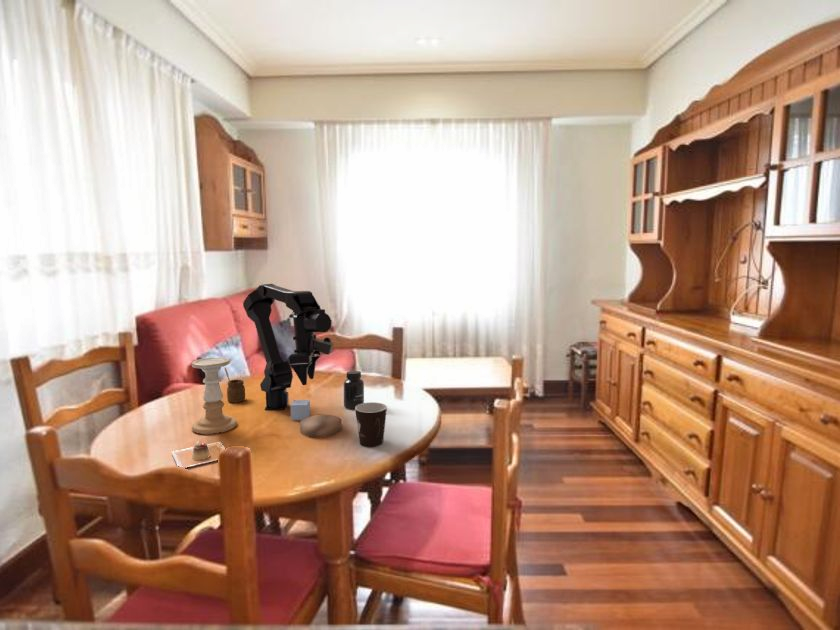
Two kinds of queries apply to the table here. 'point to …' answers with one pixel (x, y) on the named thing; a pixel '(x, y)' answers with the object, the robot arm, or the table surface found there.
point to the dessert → (196, 453)
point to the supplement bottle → (353, 390)
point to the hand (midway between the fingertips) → (308, 381)
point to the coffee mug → (371, 423)
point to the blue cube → (300, 409)
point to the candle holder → (213, 398)
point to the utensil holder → (235, 390)
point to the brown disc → (320, 425)
